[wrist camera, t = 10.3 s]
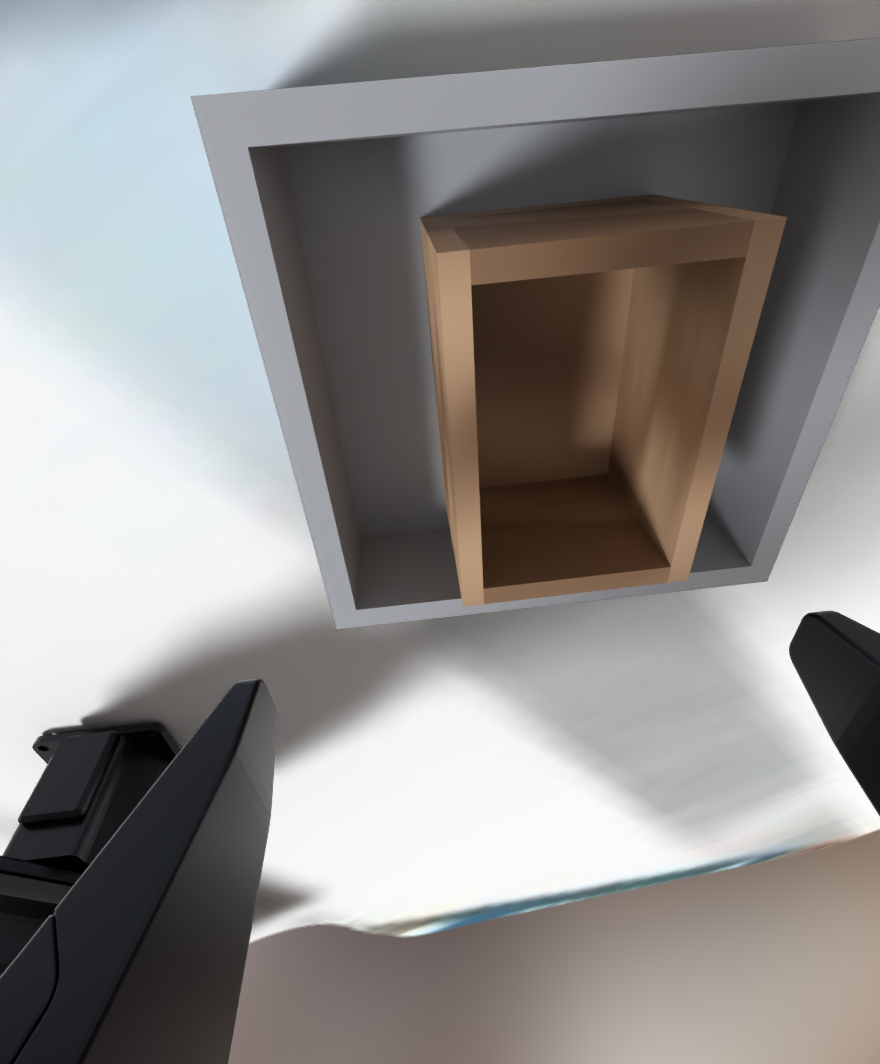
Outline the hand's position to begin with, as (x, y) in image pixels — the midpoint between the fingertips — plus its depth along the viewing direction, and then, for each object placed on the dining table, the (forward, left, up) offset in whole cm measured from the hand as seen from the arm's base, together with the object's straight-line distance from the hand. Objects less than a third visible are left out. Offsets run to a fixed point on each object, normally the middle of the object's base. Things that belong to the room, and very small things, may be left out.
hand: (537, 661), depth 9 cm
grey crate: (+1, -3, -12) cm, 12 cm away
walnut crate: (+1, -2, -11) cm, 11 cm away
